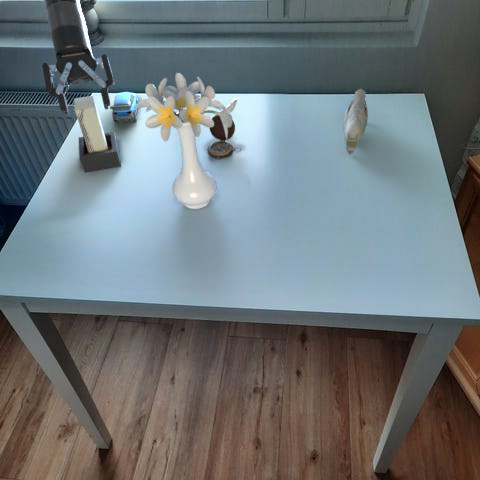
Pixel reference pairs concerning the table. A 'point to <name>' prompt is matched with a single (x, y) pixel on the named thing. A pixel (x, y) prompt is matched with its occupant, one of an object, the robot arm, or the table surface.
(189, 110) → the flower vase
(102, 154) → the holder
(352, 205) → the table surface
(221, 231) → the table surface
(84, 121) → the box
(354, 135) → the decorative bird
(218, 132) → the compass
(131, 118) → the toy car
